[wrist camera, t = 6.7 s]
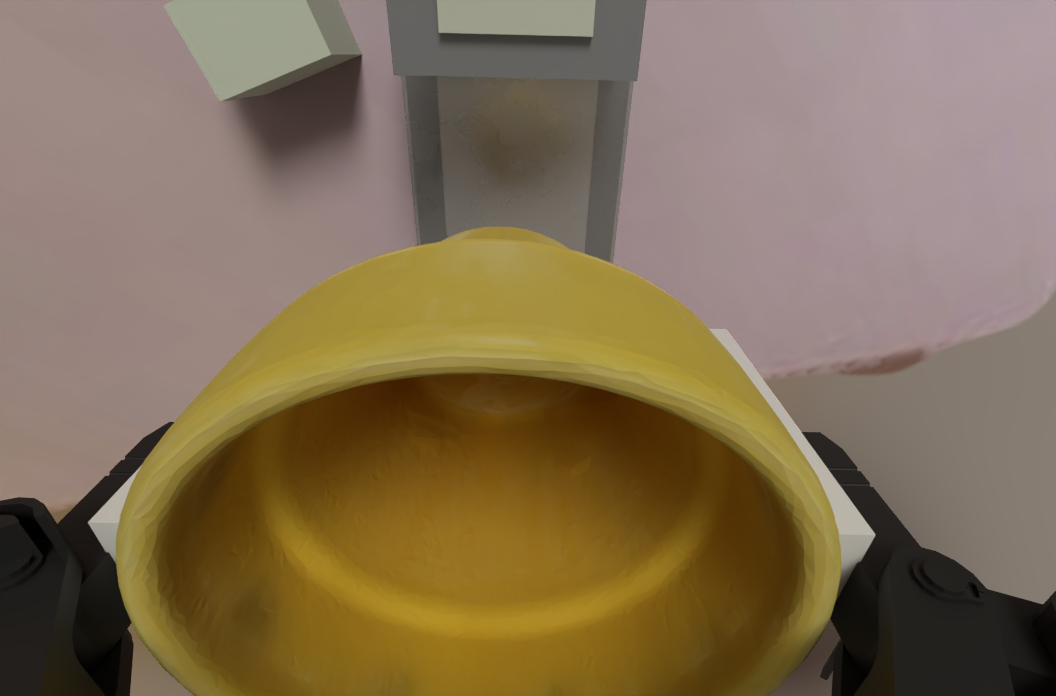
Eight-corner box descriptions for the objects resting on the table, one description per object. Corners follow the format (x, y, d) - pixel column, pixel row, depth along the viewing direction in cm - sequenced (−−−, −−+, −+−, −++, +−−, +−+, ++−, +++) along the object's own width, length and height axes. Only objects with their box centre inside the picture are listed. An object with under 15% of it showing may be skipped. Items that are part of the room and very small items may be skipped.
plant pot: (706, 398, 17) (881, 732, 9) (440, 485, 19) (373, 823, 11) (609, 85, 12) (791, 154, 4) (267, 247, 14) (-102, 523, 6)
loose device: (267, 94, 28) (220, 101, 24) (223, 13, 26) (163, 5, 22) (362, 54, 27) (331, 54, 23) (324, -33, 25) (282, -51, 21)
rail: (434, 368, 37) (430, 384, 35) (395, -85, 24) (385, -97, 22) (595, 371, 37) (598, 387, 36) (644, -78, 24) (653, -89, 22)
